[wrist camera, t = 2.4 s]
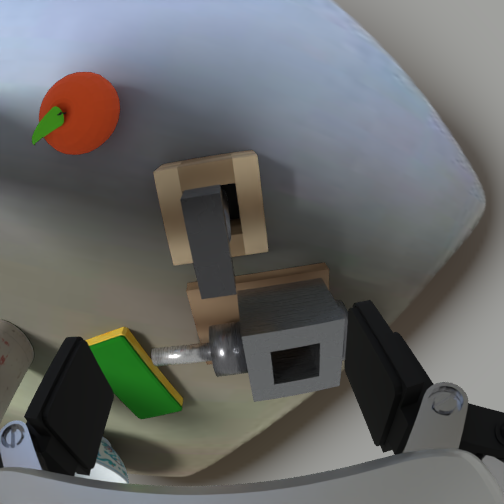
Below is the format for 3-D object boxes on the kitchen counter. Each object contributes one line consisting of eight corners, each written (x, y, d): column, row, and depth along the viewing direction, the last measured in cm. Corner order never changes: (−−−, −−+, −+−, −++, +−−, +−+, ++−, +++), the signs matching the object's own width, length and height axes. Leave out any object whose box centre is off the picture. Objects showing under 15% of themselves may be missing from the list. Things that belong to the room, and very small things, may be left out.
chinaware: (72, 453, 45) (64, 483, 38) (42, 408, 39) (28, 443, 32) (141, 464, 47) (138, 498, 40) (122, 422, 41) (113, 462, 34)
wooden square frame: (162, 164, 27) (153, 172, 23) (252, 149, 27) (257, 155, 23) (179, 246, 30) (173, 265, 26) (262, 234, 30) (268, 251, 27)
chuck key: (193, 167, 27) (176, 199, 17) (222, 163, 27) (223, 192, 17) (205, 234, 30) (198, 299, 19) (232, 230, 30) (239, 293, 20)
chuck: (332, 275, 31) (358, 315, 25) (331, 339, 34) (351, 382, 28) (147, 302, 30) (133, 348, 24) (169, 363, 34) (163, 410, 28)
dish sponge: (142, 407, 40) (139, 420, 37) (83, 339, 34) (77, 351, 32) (184, 397, 39) (183, 410, 37) (127, 323, 34) (122, 336, 31)
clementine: (74, 169, 26) (37, 187, 19) (44, 111, 23) (1, 115, 16) (143, 123, 25) (118, 126, 18) (110, 61, 22) (78, 47, 16)
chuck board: (187, 283, 32) (186, 290, 30) (324, 262, 32) (329, 269, 31) (207, 355, 36) (206, 364, 34) (324, 337, 36) (328, 345, 35)
